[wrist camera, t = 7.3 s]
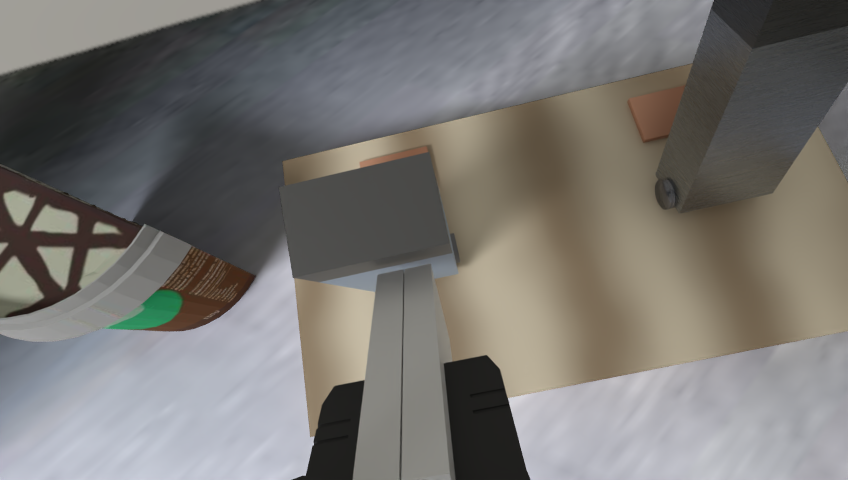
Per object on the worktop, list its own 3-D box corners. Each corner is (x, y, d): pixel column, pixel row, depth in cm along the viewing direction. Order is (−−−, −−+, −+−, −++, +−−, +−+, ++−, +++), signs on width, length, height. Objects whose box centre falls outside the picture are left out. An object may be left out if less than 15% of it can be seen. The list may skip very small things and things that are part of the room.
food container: (57, 305, 27) (-171, 264, 18) (113, 214, 29) (-71, 131, 19) (225, 390, 24) (60, 395, 15) (277, 284, 26) (157, 229, 16)
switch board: (331, 430, 23) (307, 437, 20) (303, 184, 28) (280, 158, 24) (862, 325, 21) (926, 315, 18) (742, 81, 26) (777, 39, 23)
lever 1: (373, 293, 22) (285, 279, 11) (364, 245, 22) (271, 189, 12) (463, 273, 22) (457, 241, 11) (452, 225, 22) (436, 149, 12)
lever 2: (670, 224, 21) (775, -19, 12) (647, 185, 22) (726, -57, 13) (770, 202, 20) (950, -63, 12) (740, 164, 22) (882, -96, 13)
